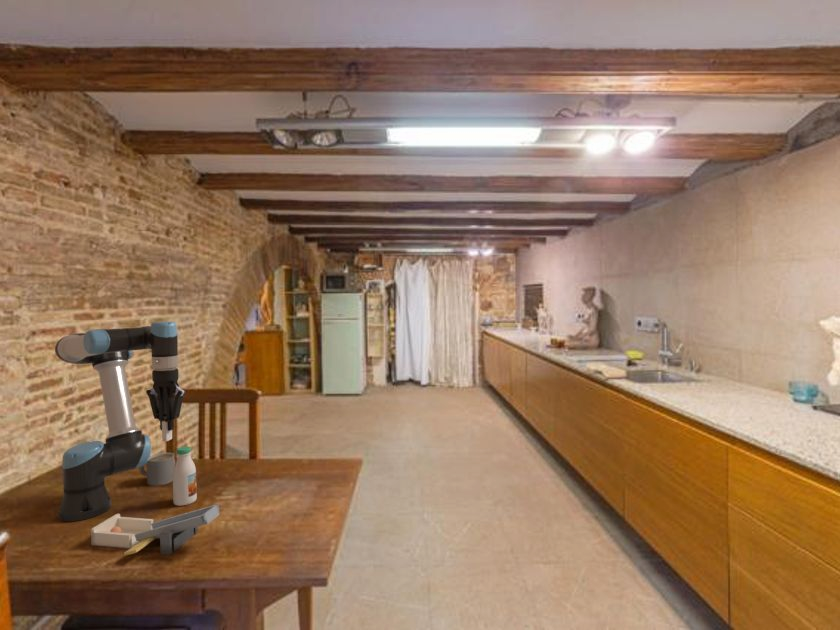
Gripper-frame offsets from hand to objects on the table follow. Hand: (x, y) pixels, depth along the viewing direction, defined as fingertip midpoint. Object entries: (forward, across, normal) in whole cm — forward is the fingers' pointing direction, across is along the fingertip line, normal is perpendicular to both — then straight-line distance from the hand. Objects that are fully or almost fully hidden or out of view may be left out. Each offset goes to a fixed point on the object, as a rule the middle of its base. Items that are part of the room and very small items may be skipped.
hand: (167, 439), depth 151 cm
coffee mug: (+29, -30, +32) cm, 52 cm away
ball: (+27, -11, -10) cm, 30 cm away
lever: (+24, +11, -13) cm, 29 cm away
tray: (+28, -8, -10) cm, 31 cm away
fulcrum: (+28, +11, -10) cm, 32 cm away
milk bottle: (+29, -6, +16) cm, 33 cm away
